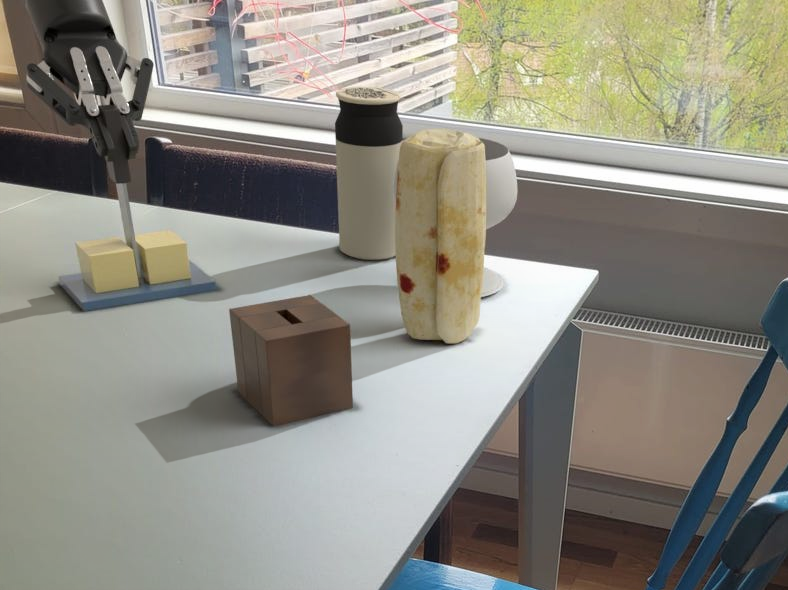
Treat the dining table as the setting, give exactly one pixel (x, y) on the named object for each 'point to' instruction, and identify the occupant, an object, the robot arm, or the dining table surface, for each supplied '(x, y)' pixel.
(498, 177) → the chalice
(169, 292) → the butter
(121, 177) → the knife
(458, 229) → the food model
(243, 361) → the knife block
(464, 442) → the dining table surface
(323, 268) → the dining table surface
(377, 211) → the travel mug
